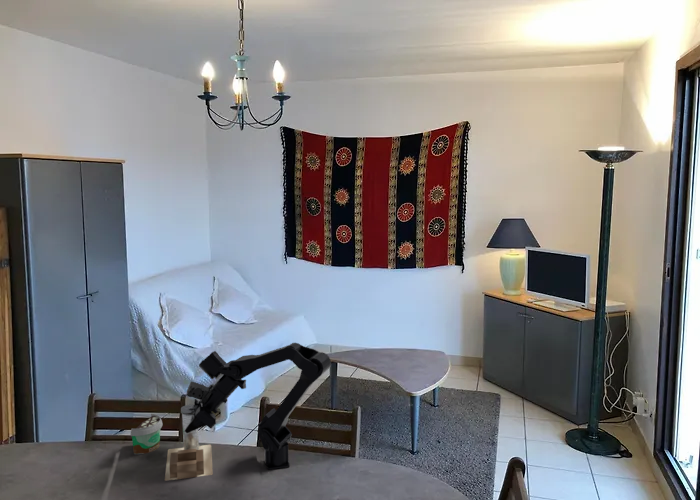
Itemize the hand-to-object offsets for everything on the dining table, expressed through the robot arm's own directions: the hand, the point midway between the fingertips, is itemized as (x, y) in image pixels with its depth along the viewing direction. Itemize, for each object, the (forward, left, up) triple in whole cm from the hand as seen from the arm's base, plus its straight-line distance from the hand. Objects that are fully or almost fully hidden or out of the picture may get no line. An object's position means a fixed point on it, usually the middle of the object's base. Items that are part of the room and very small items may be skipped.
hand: (185, 428), depth 170 cm
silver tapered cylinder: (-1, 0, -7) cm, 7 cm away
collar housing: (-1, +4, -10) cm, 11 cm away
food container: (+11, -8, -10) cm, 17 cm away
